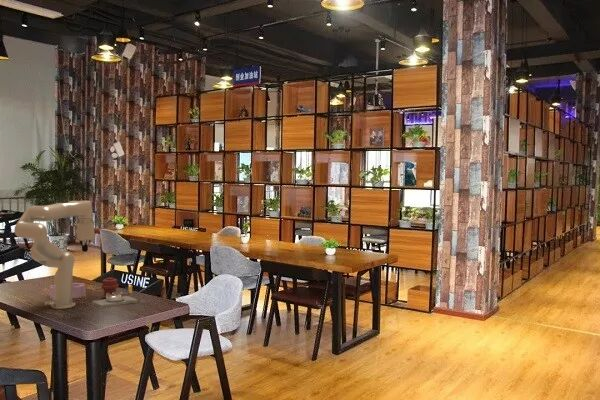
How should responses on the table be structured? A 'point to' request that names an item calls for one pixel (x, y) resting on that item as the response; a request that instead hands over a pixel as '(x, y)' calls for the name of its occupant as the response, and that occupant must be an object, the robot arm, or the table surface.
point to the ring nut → (118, 295)
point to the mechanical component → (109, 285)
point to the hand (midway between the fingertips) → (84, 251)
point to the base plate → (104, 303)
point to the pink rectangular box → (78, 290)
